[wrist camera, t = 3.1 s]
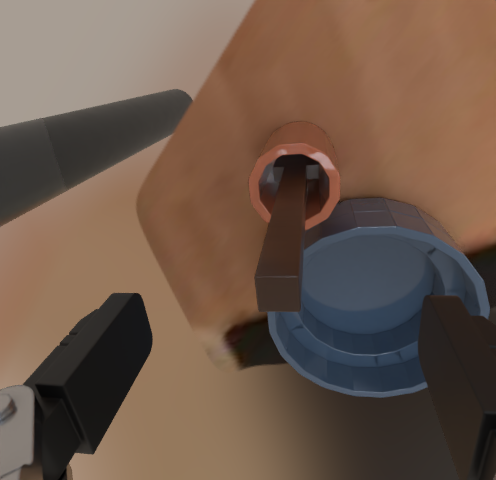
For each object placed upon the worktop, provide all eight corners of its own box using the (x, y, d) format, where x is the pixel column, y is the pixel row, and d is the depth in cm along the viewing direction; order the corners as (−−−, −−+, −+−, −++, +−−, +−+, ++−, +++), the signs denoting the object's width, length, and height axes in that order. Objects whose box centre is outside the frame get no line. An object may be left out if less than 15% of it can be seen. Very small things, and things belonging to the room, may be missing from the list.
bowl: (280, 343, 37) (275, 392, 31) (268, 199, 30) (258, 230, 25) (445, 348, 34) (470, 402, 28) (471, 190, 27) (509, 222, 22)
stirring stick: (279, 168, 28) (234, 312, 12) (277, 150, 28) (229, 276, 12) (318, 166, 28) (326, 313, 12) (318, 147, 27) (325, 276, 11)
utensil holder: (267, 190, 30) (253, 231, 23) (262, 124, 27) (244, 147, 20) (333, 187, 29) (339, 229, 22) (333, 118, 27) (340, 140, 19)
